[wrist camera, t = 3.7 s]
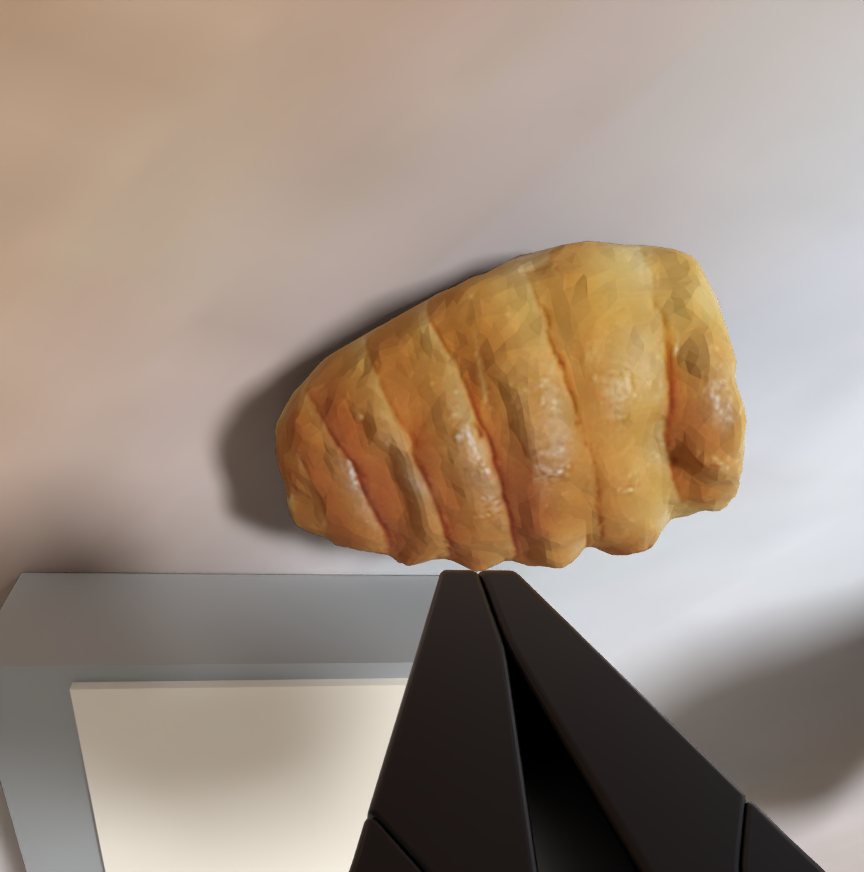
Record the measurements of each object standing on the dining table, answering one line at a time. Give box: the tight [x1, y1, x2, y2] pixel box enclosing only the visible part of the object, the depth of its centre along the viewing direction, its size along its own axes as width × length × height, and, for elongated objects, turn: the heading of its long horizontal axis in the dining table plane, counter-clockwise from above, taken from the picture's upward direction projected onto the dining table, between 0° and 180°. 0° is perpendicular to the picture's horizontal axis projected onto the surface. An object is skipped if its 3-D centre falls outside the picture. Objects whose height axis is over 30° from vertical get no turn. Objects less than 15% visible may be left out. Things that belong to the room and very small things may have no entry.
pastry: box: [275, 241, 746, 572], centre depth 15 cm, size 9×7×4 cm
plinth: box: [0, 573, 439, 872], centre depth 20 cm, size 12×12×3 cm
